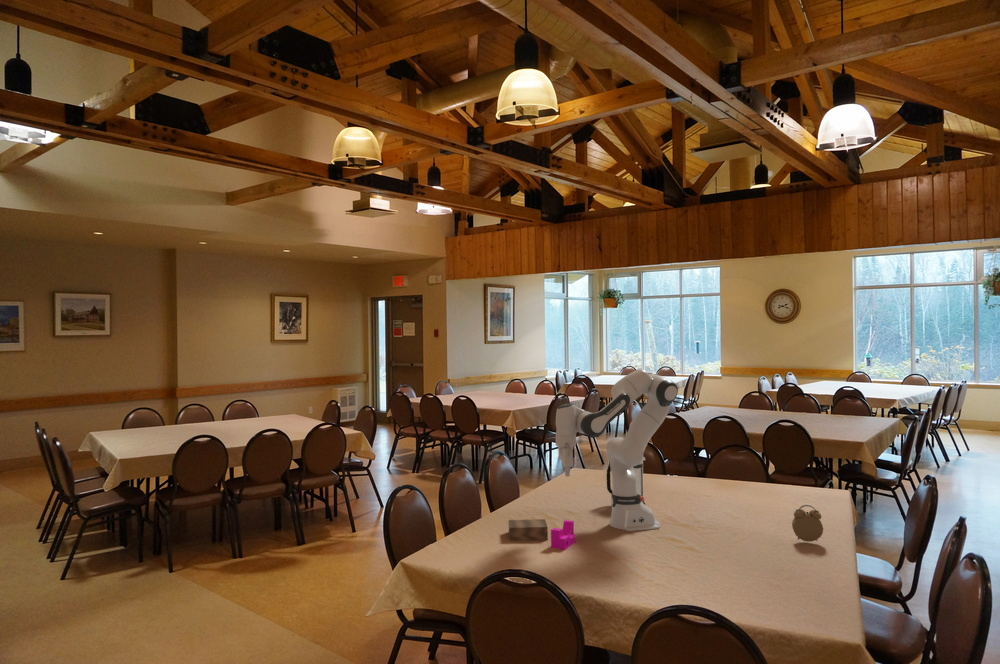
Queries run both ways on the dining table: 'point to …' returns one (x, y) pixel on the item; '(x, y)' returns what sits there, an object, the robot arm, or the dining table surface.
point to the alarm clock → (807, 524)
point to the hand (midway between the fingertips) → (565, 473)
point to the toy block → (563, 536)
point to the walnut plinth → (528, 529)
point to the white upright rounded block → (639, 475)
